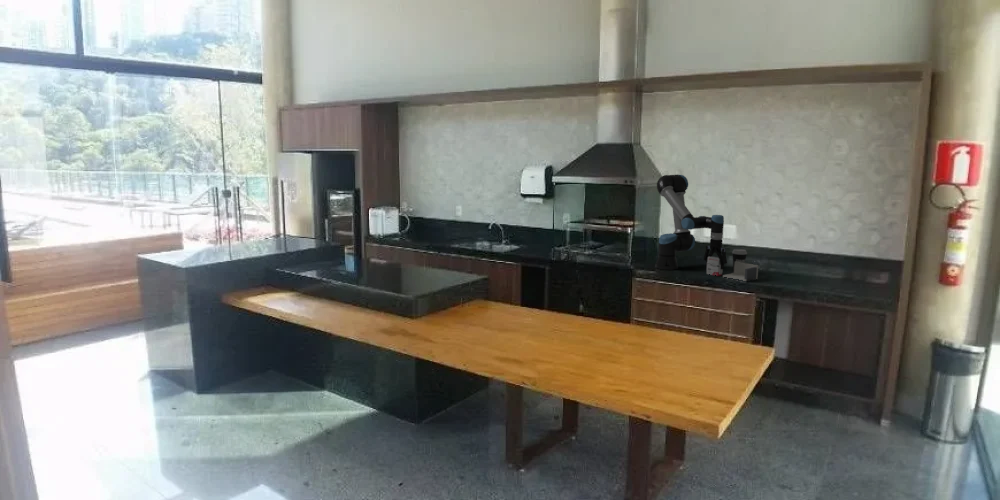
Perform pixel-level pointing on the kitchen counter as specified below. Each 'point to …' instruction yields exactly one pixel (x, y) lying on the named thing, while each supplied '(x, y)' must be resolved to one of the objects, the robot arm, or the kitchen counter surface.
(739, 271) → the shelf
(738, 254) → the coffee cup
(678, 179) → the robot arm
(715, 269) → the ink box
